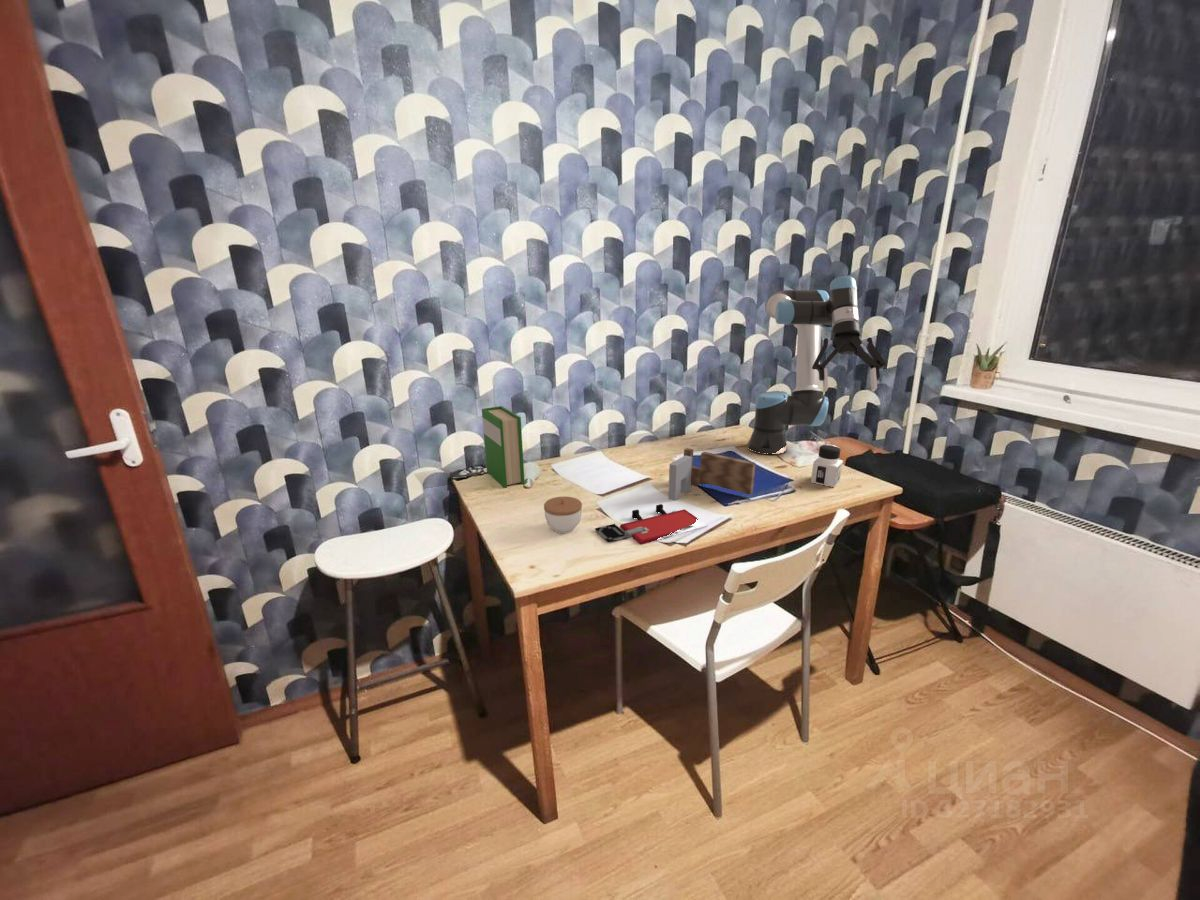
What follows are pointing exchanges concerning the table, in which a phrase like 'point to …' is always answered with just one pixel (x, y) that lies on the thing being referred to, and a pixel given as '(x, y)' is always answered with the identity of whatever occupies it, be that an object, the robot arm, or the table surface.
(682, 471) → the grey slotted plate
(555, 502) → the lidded jar
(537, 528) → the table surface
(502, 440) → the hardback book
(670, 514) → the red board with handle
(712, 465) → the walnut slotted board
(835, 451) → the container
